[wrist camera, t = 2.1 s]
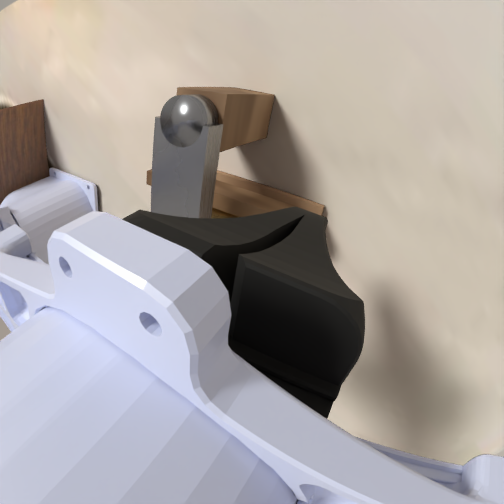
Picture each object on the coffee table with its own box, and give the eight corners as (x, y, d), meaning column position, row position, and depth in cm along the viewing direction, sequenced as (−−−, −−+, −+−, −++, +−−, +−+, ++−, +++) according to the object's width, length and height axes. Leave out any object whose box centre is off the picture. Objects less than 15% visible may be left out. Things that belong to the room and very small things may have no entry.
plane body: (165, 255, 27) (121, 287, 22) (177, 80, 19) (116, 83, 14) (291, 311, 24) (261, 362, 19) (349, 113, 16) (329, 117, 11)
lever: (164, 304, 21) (153, 314, 20) (174, 91, 13) (157, 92, 12) (201, 323, 20) (190, 334, 19) (227, 98, 12) (212, 99, 11)
